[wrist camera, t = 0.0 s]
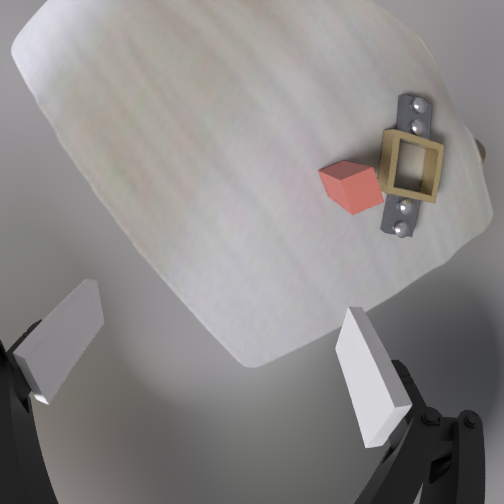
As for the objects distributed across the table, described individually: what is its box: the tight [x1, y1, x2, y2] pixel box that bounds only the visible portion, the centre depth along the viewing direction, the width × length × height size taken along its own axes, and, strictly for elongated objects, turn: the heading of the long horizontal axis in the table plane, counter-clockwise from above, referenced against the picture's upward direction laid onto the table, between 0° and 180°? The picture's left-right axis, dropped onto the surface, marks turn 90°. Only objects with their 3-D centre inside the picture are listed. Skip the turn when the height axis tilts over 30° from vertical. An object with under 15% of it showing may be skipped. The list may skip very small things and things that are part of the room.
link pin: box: [318, 161, 384, 215], centre depth 33 cm, size 4×4×11 cm
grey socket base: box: [378, 94, 444, 238], centre depth 35 cm, size 21×9×4 cm, turn 175°
